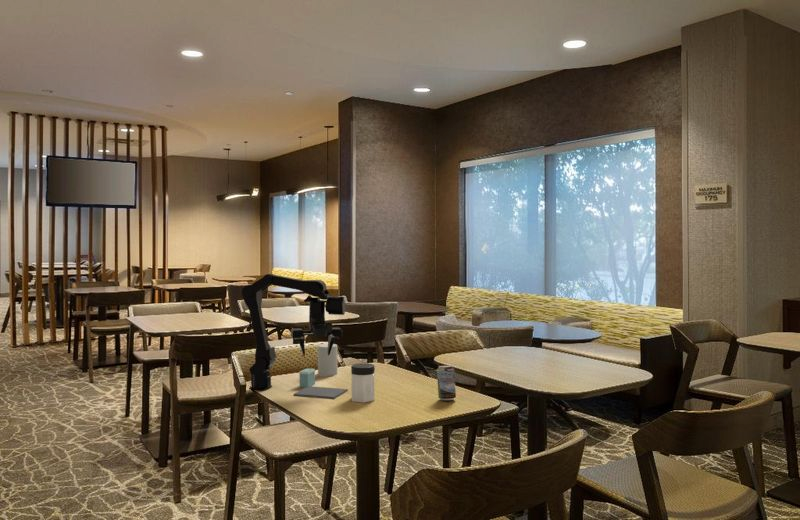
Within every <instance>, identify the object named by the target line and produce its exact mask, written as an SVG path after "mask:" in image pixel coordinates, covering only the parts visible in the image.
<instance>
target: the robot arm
mask: <svg viewBox="0 0 800 520" xmlns="http://www.w3.org/2000/svg"><path fill="white" fill-rule="evenodd" d="M270 286H274V287H275V286H276V287H282V288H287V289H292V290H295V291H300V292H302V293H305V294H306V295H307V296H306V298H305V299H304V300H303V301H304V303H309V304H308V305H309V306H308V308H309V312H308V313H309V315H308V319H309V320H308V330H306V329H305V330H303V328H300V327H299V328H291V330H290V338H292V339H294V340H295V341H297V342H298V344H299V346H300V350H301V353H302V356H303V357H305V356H306V351H305V336H313V337H315V338H318V337H323V338H324V337H327V336H328V340H327V344H328V350H327V352H328V355H329V354H330V352H331V349H332V346H333V344H335V342H336V341H337V340H339V339H340V338H342V337H343V334H344V333H343V330H342V328H340V327H333V323H332V322H326V315H325V314H326V313H327V314H328V315H331V316H332V315H335V316H337V315H338V316H345V313H346V303H345V302H346V301H345V296H342V295H341V296H332V295H331V293H330V292H329V291H328V289H327V284H326V283H325V281H323V280H321V279H299V278H293V277H288V276H284V275H283V276H282V275H277V274H273V273H267V274H264V276H262V277H261V278H260V279H258V280H257V281H255V282H253V283H251V284H246V285H245V286H243V288H242V289H241V291H240V292H241V293H240V294H241V296H242V299H243V301H244V303H245V306H246V307H247V309H248V311H249V316H250V322H251V326H252V331H253V335H254V340H255V341H254V342H255V354H254V364H252V365H251V366H250V367H249V369H248V370H249V373H250V381H251V382H250V387H249V388H248V390H254V391H255V390H256V391H265V390H268V389H270V388H272V387H273V385H272V377H271V371H270V370H271V367H272V366H273V365H274V364H275V362H276V358H277V357H278V356H277V354H276V347H275V346H271V345H270V344H269V341H268V335H267V331H266V326H265V320H264V316H263V311H262V302H263V292H264V291H265V290H267V289H268V288H270Z"/></svg>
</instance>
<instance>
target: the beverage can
mask: <svg viewBox="0 0 800 520" xmlns="http://www.w3.org/2000/svg"><path fill="white" fill-rule="evenodd" d="M436 374H437V375H436V376H437V378H436V379H437V393H438V394H437V395H438V396H437V397H438V399H440V401H452V400H454V399H456V397H457V391H456V376H455V368H454V367H453V365H440V366H439V365H438V367H437V369H436Z"/></svg>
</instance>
